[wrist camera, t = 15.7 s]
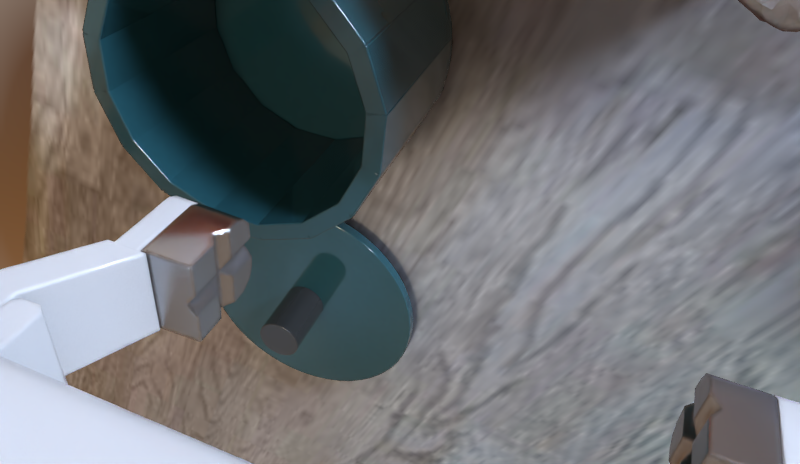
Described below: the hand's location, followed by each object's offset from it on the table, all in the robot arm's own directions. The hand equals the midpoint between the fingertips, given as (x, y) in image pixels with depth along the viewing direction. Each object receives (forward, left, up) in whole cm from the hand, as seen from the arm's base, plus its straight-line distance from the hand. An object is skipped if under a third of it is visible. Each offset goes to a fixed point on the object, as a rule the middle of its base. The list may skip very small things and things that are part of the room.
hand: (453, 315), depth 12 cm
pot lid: (+12, +21, -19) cm, 31 cm away
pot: (+12, +4, -20) cm, 23 cm away
